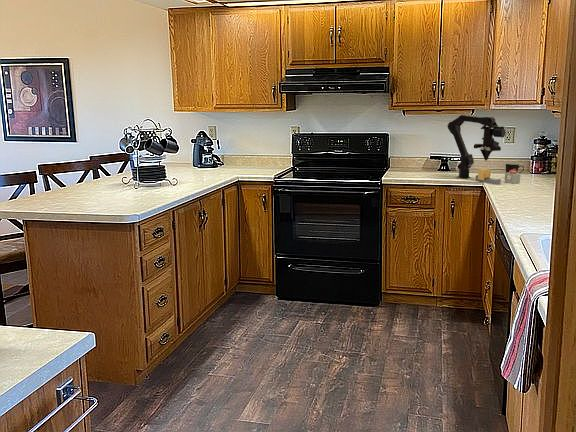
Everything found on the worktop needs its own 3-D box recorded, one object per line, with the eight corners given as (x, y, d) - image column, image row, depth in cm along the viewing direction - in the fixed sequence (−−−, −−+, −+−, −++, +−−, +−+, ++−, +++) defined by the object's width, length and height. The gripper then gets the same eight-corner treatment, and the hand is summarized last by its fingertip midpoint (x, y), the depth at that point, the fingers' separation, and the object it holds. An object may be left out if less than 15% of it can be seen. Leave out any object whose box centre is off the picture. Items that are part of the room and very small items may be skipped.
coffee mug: (503, 178, 396) (504, 163, 394) (505, 177, 404) (506, 162, 401) (521, 180, 391) (523, 165, 389) (523, 178, 398) (524, 163, 396)
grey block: (504, 182, 382) (504, 172, 381) (511, 181, 385) (512, 172, 384) (512, 183, 376) (513, 174, 375) (519, 183, 379) (520, 173, 378)
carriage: (477, 179, 385) (478, 169, 383) (484, 178, 387) (485, 168, 386) (483, 180, 380) (484, 170, 379) (489, 179, 383) (490, 169, 381)
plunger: (507, 180, 381) (507, 170, 380) (512, 179, 383) (512, 170, 382) (512, 181, 378) (513, 171, 376) (517, 180, 379) (518, 171, 378)
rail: (475, 180, 388) (475, 175, 388) (478, 179, 390) (479, 175, 389) (496, 184, 372) (497, 179, 371) (500, 184, 373) (500, 179, 372)
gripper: (508, 137, 378) (506, 161, 381) (486, 135, 394) (484, 158, 397) (495, 137, 373) (493, 162, 376) (474, 135, 389) (472, 159, 393)
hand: (486, 160), depth 386 cm, fingers closed
